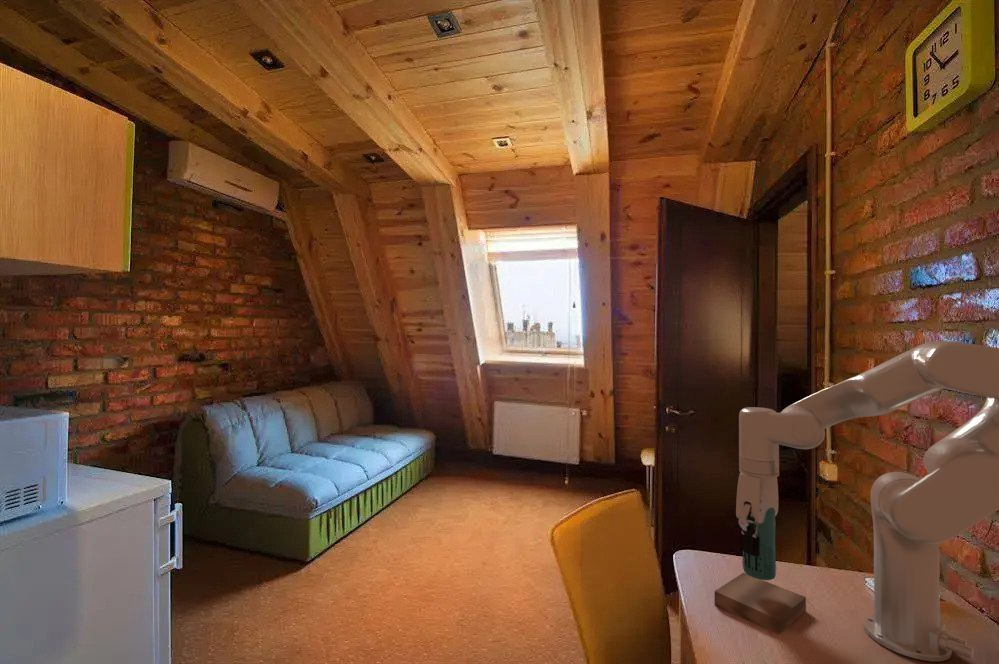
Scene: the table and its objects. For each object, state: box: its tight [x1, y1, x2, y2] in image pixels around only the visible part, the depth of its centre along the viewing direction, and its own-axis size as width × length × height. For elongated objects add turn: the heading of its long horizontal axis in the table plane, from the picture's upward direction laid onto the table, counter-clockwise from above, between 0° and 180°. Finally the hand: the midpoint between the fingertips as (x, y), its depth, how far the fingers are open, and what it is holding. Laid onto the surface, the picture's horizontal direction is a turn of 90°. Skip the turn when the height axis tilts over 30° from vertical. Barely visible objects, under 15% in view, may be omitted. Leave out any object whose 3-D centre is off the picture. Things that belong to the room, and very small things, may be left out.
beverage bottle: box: [741, 507, 777, 581], centre depth 101 cm, size 6×7×20 cm
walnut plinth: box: [714, 572, 807, 636], centre depth 101 cm, size 13×13×3 cm
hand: (759, 548), depth 101 cm, fingers closed on beverage bottle, 6 cm apart
